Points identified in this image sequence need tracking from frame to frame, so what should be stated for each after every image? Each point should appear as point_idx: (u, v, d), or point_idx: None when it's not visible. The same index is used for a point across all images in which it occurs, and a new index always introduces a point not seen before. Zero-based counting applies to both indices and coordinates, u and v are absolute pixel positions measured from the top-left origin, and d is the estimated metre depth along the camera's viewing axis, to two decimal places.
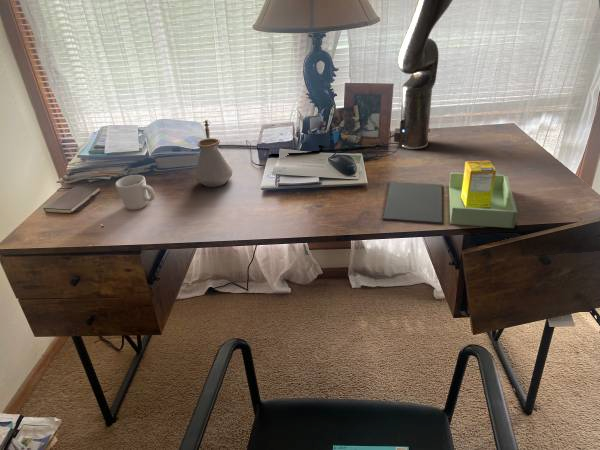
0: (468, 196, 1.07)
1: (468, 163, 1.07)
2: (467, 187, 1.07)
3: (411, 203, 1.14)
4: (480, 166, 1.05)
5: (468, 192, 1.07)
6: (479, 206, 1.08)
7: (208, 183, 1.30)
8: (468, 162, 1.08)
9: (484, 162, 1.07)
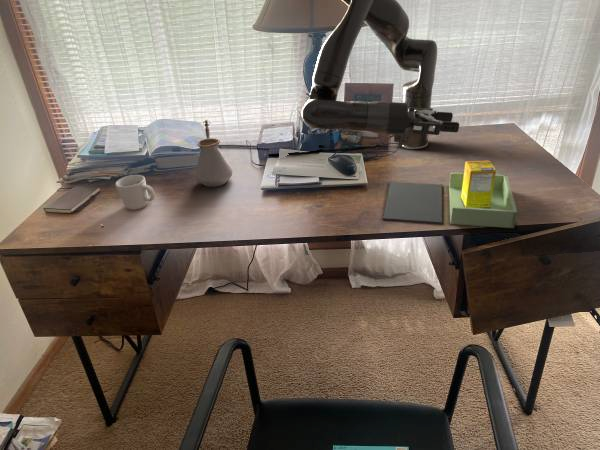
0: (468, 196, 1.07)
1: (468, 163, 1.07)
2: (467, 187, 1.07)
3: (411, 203, 1.14)
4: (480, 166, 1.05)
5: (468, 192, 1.07)
6: (479, 206, 1.08)
7: (208, 183, 1.30)
8: (468, 162, 1.08)
9: (484, 162, 1.07)
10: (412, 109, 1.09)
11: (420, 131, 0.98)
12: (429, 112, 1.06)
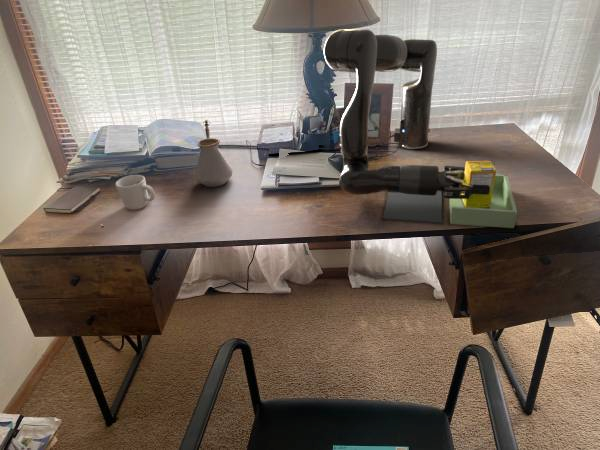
0: None
1: (468, 163, 1.07)
2: None
3: (411, 203, 1.14)
4: (480, 166, 1.05)
5: None
6: (479, 206, 1.08)
7: (208, 183, 1.30)
8: (468, 162, 1.08)
9: (484, 162, 1.07)
10: (447, 168, 1.14)
11: (451, 196, 1.05)
12: (462, 173, 1.10)
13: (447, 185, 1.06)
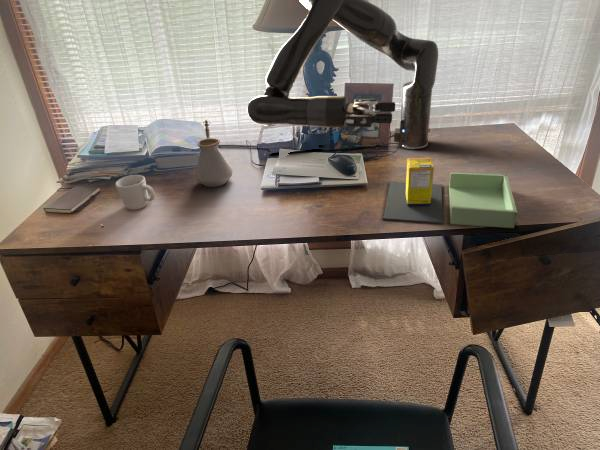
0: (409, 192, 1.11)
1: (409, 160, 1.11)
2: (407, 183, 1.11)
3: None
4: (419, 163, 1.09)
5: (408, 188, 1.10)
6: (420, 202, 1.12)
7: (208, 183, 1.30)
8: (409, 159, 1.11)
9: (424, 159, 1.10)
10: (357, 101, 1.11)
11: (352, 124, 1.01)
12: (371, 103, 1.08)
13: (352, 113, 1.03)
